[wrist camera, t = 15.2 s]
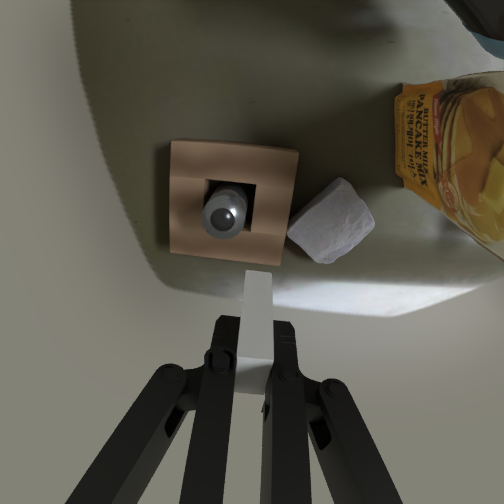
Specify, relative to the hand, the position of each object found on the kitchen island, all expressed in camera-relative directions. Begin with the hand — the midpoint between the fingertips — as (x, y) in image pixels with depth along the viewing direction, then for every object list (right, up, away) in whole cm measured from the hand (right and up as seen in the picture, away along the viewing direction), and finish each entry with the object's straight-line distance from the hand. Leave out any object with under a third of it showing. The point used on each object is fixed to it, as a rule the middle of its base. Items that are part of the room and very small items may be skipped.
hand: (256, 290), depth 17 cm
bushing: (-3, +10, +22) cm, 25 cm away
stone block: (+12, +7, +24) cm, 28 cm away
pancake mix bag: (+23, +20, +16) cm, 35 cm away
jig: (-3, +10, +22) cm, 25 cm away
